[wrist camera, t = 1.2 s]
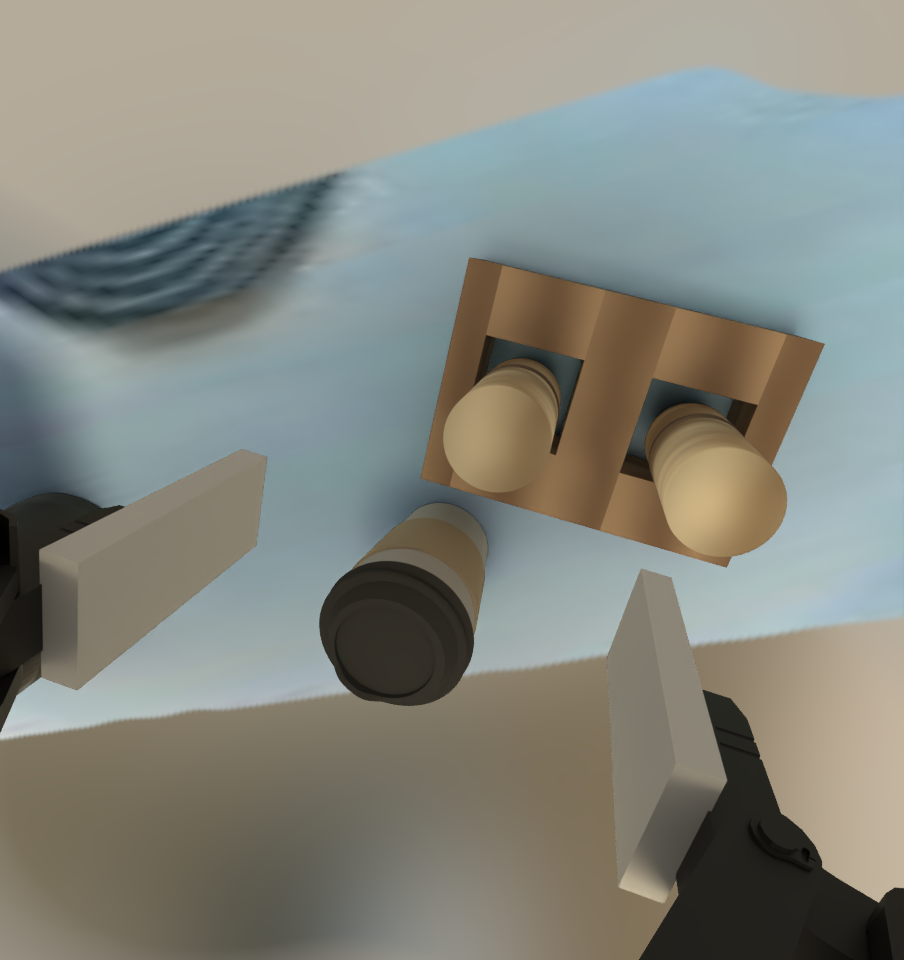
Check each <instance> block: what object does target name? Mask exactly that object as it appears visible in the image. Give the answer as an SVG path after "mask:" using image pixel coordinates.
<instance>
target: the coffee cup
mask: <svg viewBox="0 0 904 960" xmlns="http://www.w3.org/2000/svg"><path fill="white" fill-rule="evenodd" d="M487 554H488V544H487V539H486V535H485V533H484V531H483V529H482V527H481V525H480V524H479V523H478V521H477V520H476V519H475V518H474V517H473V516H472V515H471V514H469V513H468V512H467V511H465V510H463V509H462V508H460V507H457V506H454V505H451V504H446V503H432V504H428V505H425V506H422V507H420V508H418V509H417V510H415V511H414V512H413V513H412V514H411V515H410V516H409V517H408V518H407V519H406V520H405V521H404V522H402V523H400V524H399V525H397V526H396V527H394V528H393V529H392V530H391V531H390V532H389V533H388V534H387V535H386V536H385V537H384V538H383V539H382V540H381V541H380V542H378V543H377V544H376V545H375V546H374V547H373V548H372V549H371V550H370V551H369V552H368V553H367V554H366V555H365V556H364V557H363V558H362V559H361V560H360V561H359V562H358V563H357V564H356V565H355V566H354V567H353V569H352V570H351V571H349V572H348V573H346V574H345V575H344V576H342V577H341V578H340V579H339V580H338V581H337V583H336V584H335V585H334V586H333V588H332V589H331V591H330V593H329V594H328V596H327V598H326V599H325V601H324V604H323V606H322V609H321V613H320V621H319V627H320V636H321V640H322V644H323V647H324V649H325V652H326V654H327V656H328V658H329V659H330V661H331V663H332V664H333V666H334V667H335V671H336V674H337V676H338V678H339V680H340V681H341V683H342V684H343V685H344V686H345V687H346V688H347V689H348V690H350V691H351V692H352V693H353V694H355V695H356V696H358V697H360V698H362V699H364V700H368V701H381V702H386V703H390V704H394V705H402V706H403V705H404V706H414V705H422V704H427V703H430V702H433V701H436V700H438V699H440V698H442V697H443V696H445V695H446V694H448V693H449V692H450V691H451V690H452V689H453V688H454V687H455V686H456V685H457V684H458V682H459V681H460V679H461V677H462V675H463V673H464V672H465V670H466V669H467V667H468V665H469V663H470V660H471V657H472V653H473V647H474V633H475V630H476V625H477V620H478V614H479V608H480V603H481V597H482V592H483V586H484V580H485V564H486V559H487Z"/></svg>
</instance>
